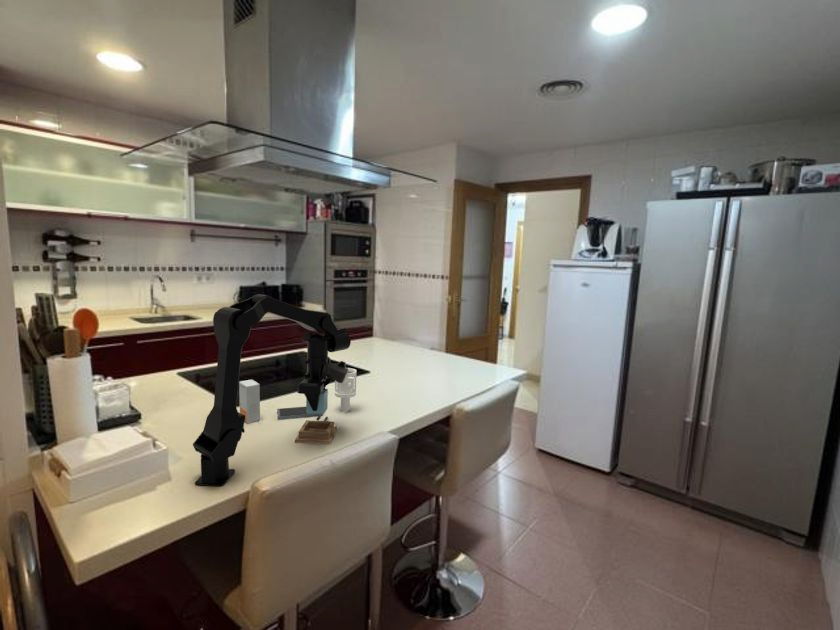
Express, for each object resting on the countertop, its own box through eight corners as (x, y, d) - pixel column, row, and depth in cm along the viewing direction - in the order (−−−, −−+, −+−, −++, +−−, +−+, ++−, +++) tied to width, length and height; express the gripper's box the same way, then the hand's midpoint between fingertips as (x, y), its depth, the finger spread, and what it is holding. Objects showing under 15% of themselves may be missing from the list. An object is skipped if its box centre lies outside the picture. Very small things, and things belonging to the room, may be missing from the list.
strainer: (334, 414, 136) (335, 370, 134) (334, 406, 143) (335, 364, 140) (356, 413, 137) (357, 370, 135) (355, 405, 144) (356, 364, 142)
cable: (323, 426, 126) (323, 424, 126) (312, 425, 126) (312, 423, 126) (331, 412, 137) (331, 410, 137) (321, 412, 137) (321, 410, 137)
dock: (330, 444, 115) (330, 434, 114) (294, 442, 115) (294, 433, 114) (337, 429, 125) (337, 420, 124) (304, 427, 125) (304, 418, 124)
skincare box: (239, 417, 130) (238, 381, 128) (252, 414, 132) (252, 378, 131) (247, 424, 125) (246, 386, 123) (260, 420, 128) (260, 383, 126)
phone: (322, 415, 134) (322, 412, 134) (277, 419, 129) (277, 416, 129) (320, 408, 141) (320, 404, 140) (277, 411, 136) (277, 408, 136)
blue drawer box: (323, 414, 116) (324, 393, 115) (306, 413, 116) (306, 392, 115) (327, 408, 121) (327, 388, 120) (310, 407, 121) (310, 387, 120)
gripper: (339, 365, 107) (338, 421, 109) (351, 348, 125) (350, 397, 128) (296, 363, 107) (296, 420, 109) (315, 347, 125) (314, 396, 127)
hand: (317, 407), depth 118 cm, fingers closed on blue drawer box, 4 cm apart
